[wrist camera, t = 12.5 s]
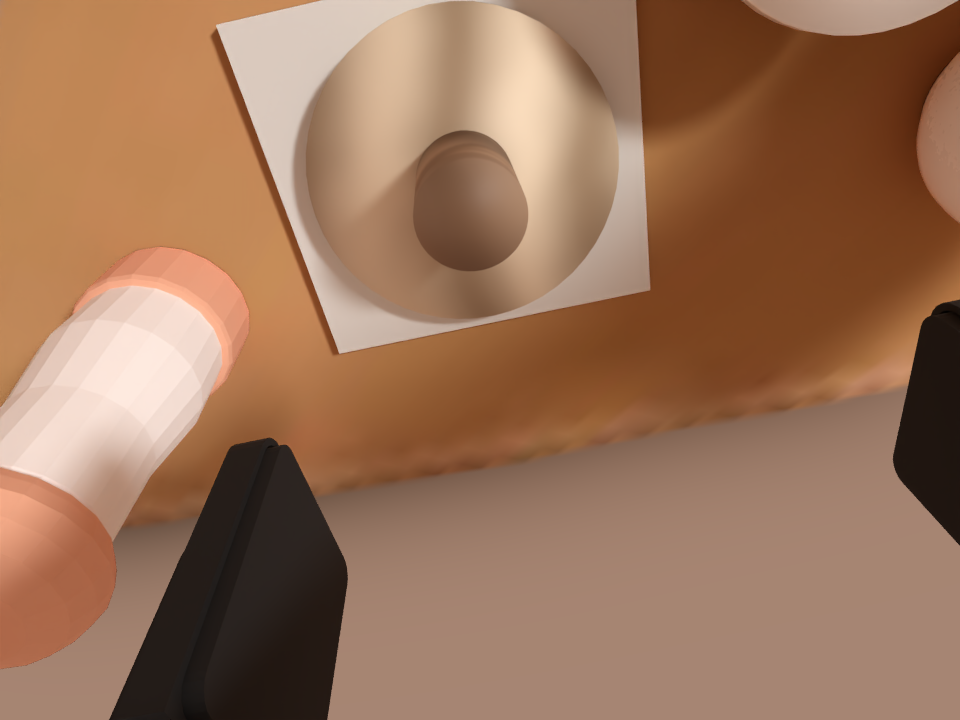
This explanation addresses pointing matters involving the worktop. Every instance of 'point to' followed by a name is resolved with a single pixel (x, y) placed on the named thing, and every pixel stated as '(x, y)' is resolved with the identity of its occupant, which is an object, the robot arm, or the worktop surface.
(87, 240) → the worktop surface
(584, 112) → the lid
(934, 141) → the lidded jar
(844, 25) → the mushroom
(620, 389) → the worktop surface
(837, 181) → the worktop surface
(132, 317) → the pepper shaker
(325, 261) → the mat
